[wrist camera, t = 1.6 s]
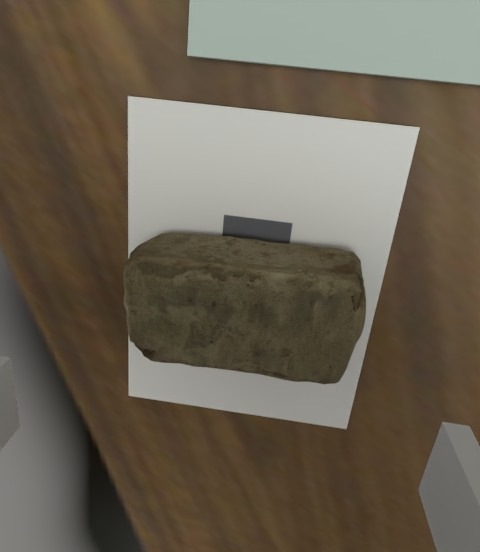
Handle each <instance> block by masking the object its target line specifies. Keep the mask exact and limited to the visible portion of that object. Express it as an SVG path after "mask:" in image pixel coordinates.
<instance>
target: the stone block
mask: <svg viewBox="0 0 480 552" xmlns="http://www.w3.org/2000/svg"><path fill="white" fill-rule="evenodd" d="M123 283H124V289H125V291H124V306H125V309H126V315H127V316H126V323H127V329H128V334H129V338H130V341H131V342H133V343H134V344H135V346H136V347H137V348H138V349H139V350H140V351H141V352H142V354H143V356H144V357H146V358H148V359H149V360H151V361H153V362H162V363H181V364H185V365H189V366H193V367H208V368H216V369H224V370H232V371H239V372H245V373H254V374H261V375H265V376H270V377H274V378H278V379H283V380H288V381H294V382H314V383H320V384H335V383H337V382H339V381H340V379H341V378H342V376H343V375H344V373H345V371H346V369H347V366H348V363H349V361H350V358H351V355H352V353H353V350H354V347H355V345H356V343H357V341H358V340H359V338H360V336H361V334H362V331H363V328H364V324H365V317H366V294H365V287H364V280H363V277H362V269H361V261H360V259H359V258H358V256H357V255H356V254H355V253H354V252H353V251H345V250H343V249H336V248H322V247H315V246H310V245H304V244H288V243H275V242H266V241H262V240H257V239H245V238H237V237H232V236H210V235H201V234H188V233H162V234H160V235H158V236H156V237H154V238H152V239H150V240H148V241H146V242H144V243H142V244H140V245H138V246H137V247H136V248H135V249H134V250H133V251H132V252H131V253H130V257H129V259H128V261H127V263H126V264H125V266H124V273H123Z"/></svg>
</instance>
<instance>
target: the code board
mask: <svg viewBox="0 0 480 552" xmlns="http://www.w3.org/2000/svg"><path fill="white" fill-rule="evenodd" d="M419 129H420V127H413V126H403V125H394V124H385V123H376V122H366V121H357V120H348V119H339V118H329V117H320V116H311V115H301V114H292V113H283V112H274V111H264V110H255V109H246V108H236V107H227V106H218V105H209V104H199V103H190V102H181V101H172V100H162V99H153V98H144V97H134V96H128V259H129V257H130V253H131V252H132V251H133V250H134V249H135V248H136V247H137V246H138V245H140V244H142V243H144V242H146V241H148V240H150V239H152V238H154V237H156V236H158V235H160V234H162V233H188V234H201V235H210V236H232V237H237V238H245V239H257V240H262V241H266V242H275V243H288V244H304V245H310V246H315V247H322V248H336V249H343V250H345V251H353V252H354V253H355V254H356V255H357V256H358V258H359V259H360V261H361V269H362V277H363V280H364V287H365V294H366V317H365V324H364V328H363V331H362V334H361V336H360V338H359V340H358V341H357V343H356V345H355V347H354V350H353V353H352V355H351V358H350V361H349V363H348V366H347V369H346V371H345V373H344V375H343V376H342V378H341V379H340V381H339V382H337V383H335V384H320V383H314V382H294V381H288V380H283V379H278V378H274V377H270V376H265V375H261V374H254V373H245V372H239V371H232V370H224V369H216V368H208V367H193V366H189V365H185V364H181V363H162V362H153V361H151V360H149V359H148V358H146V357H144V356H143V354H142V352H141V351H140V350H139V349H138V348H137V347H136V346H135V344H134V343H133V342H131V341H130V338H129V334H128V347H129V396H134V397H140V398H147V399H153V400H160V401H166V402H173V403H179V404H186V405H192V406H199V407H205V408H212V409H218V410H225V411H231V412H238V413H245V414H251V415H258V416H264V417H271V418H277V419H284V420H290V421H297V422H303V423H310V424H316V425H323V426H329V427H336V428H342V429H347V425H348V421H349V417H350V413H351V409H352V405H353V400H354V396H355V392H356V388H357V384H358V380H359V376H360V372H361V368H362V363H363V359H364V355H365V351H366V347H367V343H368V339H369V335H370V330H371V326H372V322H373V318H374V314H375V310H376V306H377V302H378V298H379V293H380V289H381V285H382V281H383V277H384V273H385V269H386V265H387V260H388V256H389V252H390V248H391V244H392V240H393V236H394V232H395V227H396V223H397V219H398V215H399V211H400V207H401V203H402V199H403V195H404V190H405V186H406V182H407V178H408V174H409V170H410V166H411V162H412V157H413V153H414V149H415V145H416V141H417V137H418V133H419Z"/></svg>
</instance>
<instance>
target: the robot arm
mask: <svg viewBox="0 0 480 552" xmlns="http://www.w3.org/2000/svg"><path fill="white" fill-rule="evenodd" d="M19 427H20V423H19V416H18V408H17V401H16V395H15V386H14V379H13V372H12V365H11V358H10V357H4V356H0V450H1V449H2V448H3V447H4V445H5V444H6V443H7V442H8V441H9V439H10V438H11V437H12V436H13V434H14V433H15V432H16V431H17V429H18V428H19ZM418 492H419V495H420V498H421V501H422V505H423V508H424V511H425V514H426V518H427V521H428V524H429V527H430V530H431V534H432V537H433V540H434V543H435V547H436V550H437V552H480V446H479V444H478V442H477V440H476V438H475V436H474V434H473V432H472V430H471V428H470V426H467V425H460V424H453V423H447V422H442V424H441V427H440V430H439V432H438V435H437V438H436V441H435V444H434V446H433V449H432V452H431V455H430V457H429V460H428V463H427V466H426V469H425V471H424V474H423V477H422V480H421V483H420V485H419V488H418Z"/></svg>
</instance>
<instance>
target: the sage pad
mask: <svg viewBox="0 0 480 552" xmlns="http://www.w3.org/2000/svg"><path fill="white" fill-rule="evenodd" d="M187 55H188V56H190V57H196V58H206V59H216V60H225V61H235V62H245V63H255V64H265V65H275V66H285V67H295V68H305V69H315V70H325V71H334V72H344V73H354V74H364V75H374V76H384V77H394V78H404V79H414V80H424V81H434V82H443V83H453V84H463V85H473V86H480V0H190V5H189V27H188V50H187Z"/></svg>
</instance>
